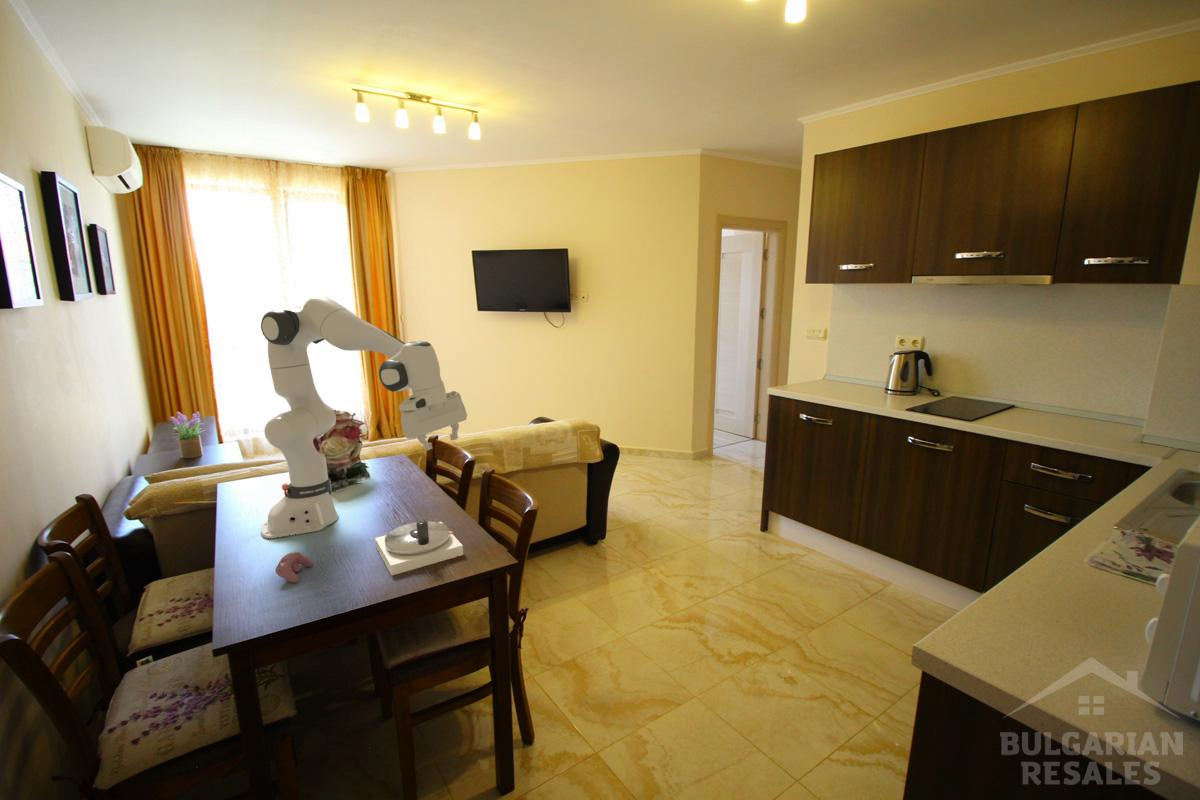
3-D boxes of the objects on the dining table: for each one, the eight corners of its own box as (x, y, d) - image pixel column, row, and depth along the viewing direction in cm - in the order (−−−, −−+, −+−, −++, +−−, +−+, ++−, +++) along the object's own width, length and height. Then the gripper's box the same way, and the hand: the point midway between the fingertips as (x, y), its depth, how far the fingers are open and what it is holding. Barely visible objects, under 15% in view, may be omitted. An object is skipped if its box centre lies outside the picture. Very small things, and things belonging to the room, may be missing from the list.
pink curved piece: (301, 571, 150) (287, 551, 149) (315, 563, 150) (301, 543, 149) (284, 590, 141) (268, 569, 139) (299, 582, 141) (284, 561, 139)
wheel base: (391, 575, 144) (390, 564, 143) (376, 547, 160) (374, 537, 160) (464, 554, 155) (463, 544, 154) (442, 530, 171) (441, 520, 171)
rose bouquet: (289, 482, 217) (279, 411, 211) (363, 466, 236) (356, 400, 230) (307, 499, 198) (297, 421, 192) (385, 480, 218) (378, 409, 212)
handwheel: (379, 537, 159) (376, 512, 158) (438, 522, 169) (436, 498, 168) (393, 561, 145) (390, 534, 143) (458, 544, 154) (456, 518, 153)
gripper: (451, 390, 161) (462, 434, 163) (393, 407, 144) (405, 455, 147) (465, 388, 157) (476, 433, 159) (407, 406, 141) (419, 455, 143)
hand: (442, 444), depth 153 cm, fingers open, 8 cm apart
